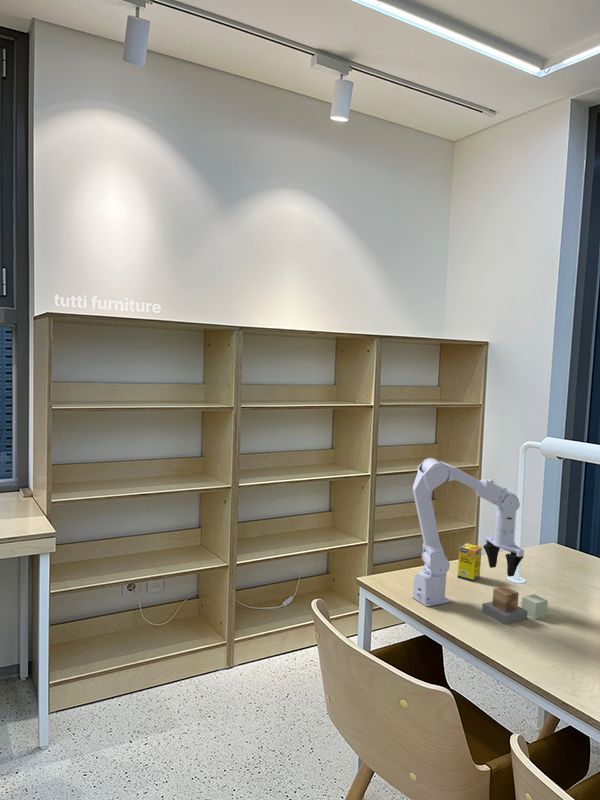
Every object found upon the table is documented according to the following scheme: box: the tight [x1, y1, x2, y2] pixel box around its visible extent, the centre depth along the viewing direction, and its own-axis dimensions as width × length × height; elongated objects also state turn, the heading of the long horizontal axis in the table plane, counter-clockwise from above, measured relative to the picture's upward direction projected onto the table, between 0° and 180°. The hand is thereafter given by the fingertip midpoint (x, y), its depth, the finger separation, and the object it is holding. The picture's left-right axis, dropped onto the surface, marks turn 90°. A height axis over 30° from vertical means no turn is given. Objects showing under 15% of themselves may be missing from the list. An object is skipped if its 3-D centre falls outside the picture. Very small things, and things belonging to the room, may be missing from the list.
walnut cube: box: [492, 586, 520, 612], centre depth 177 cm, size 5×5×5 cm
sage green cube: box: [521, 594, 549, 620], centre depth 178 cm, size 5×5×5 cm
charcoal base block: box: [481, 600, 528, 625], centre depth 177 cm, size 9×9×3 cm
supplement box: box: [457, 542, 483, 583], centre depth 206 cm, size 6×6×11 cm
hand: (501, 571), depth 187 cm, fingers open, 7 cm apart
